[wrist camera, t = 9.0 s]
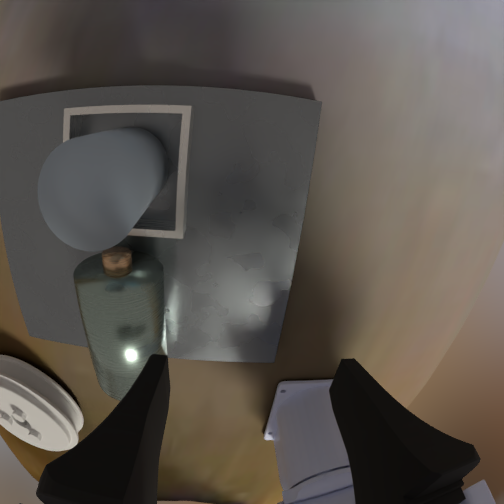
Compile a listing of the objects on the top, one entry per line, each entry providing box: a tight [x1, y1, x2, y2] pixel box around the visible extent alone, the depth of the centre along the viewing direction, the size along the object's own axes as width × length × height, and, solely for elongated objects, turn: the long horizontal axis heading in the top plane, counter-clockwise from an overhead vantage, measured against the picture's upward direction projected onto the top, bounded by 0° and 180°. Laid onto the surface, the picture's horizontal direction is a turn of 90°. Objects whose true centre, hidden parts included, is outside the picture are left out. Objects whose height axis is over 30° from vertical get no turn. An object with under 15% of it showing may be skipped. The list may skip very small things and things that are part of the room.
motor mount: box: [0, 85, 322, 401], centre depth 16 cm, size 18×20×6 cm
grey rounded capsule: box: [38, 127, 168, 252], centre depth 13 cm, size 4×4×6 cm
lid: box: [0, 355, 84, 451], centre depth 23 cm, size 13×13×5 cm
